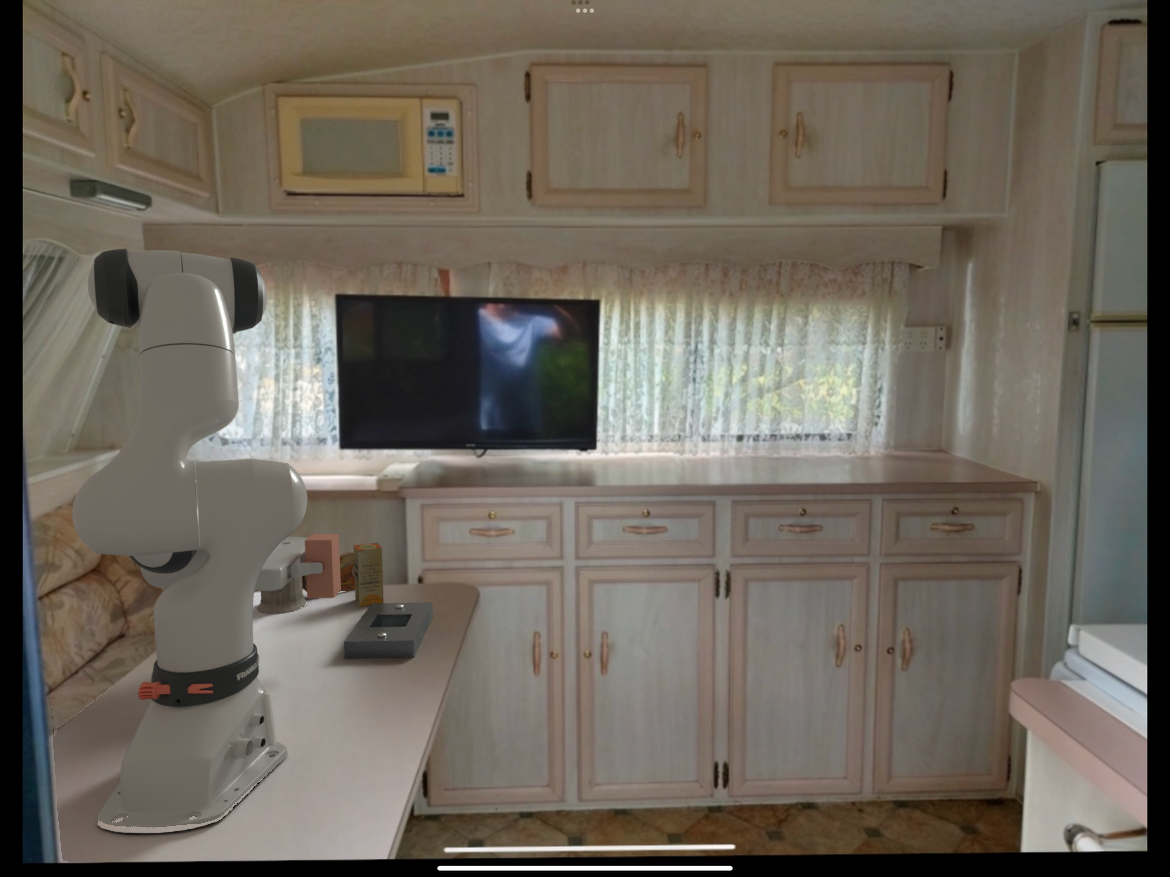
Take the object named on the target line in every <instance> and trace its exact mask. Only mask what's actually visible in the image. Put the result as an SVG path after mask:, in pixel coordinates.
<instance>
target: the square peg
mask: <svg viewBox="0 0 1170 877" xmlns="http://www.w3.org/2000/svg"><path fill="white" fill-rule="evenodd" d="M306 538H307V539H306V540H305V559H306V563H308V562H313V561H323V562H324V567H325V569H324V571H323V572H322V573H320V574H309V575H306V582H307V592H306V598H307V599H334V598H335V597H336V596H337V595H339V594H338V592H339V591H340V590H341V578H340V554H341V553H340V533H313V534H311V535H310V536H308V537H306Z"/></svg>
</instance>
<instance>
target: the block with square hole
mask: <svg viewBox="0 0 1170 877" xmlns="http://www.w3.org/2000/svg"><path fill="white" fill-rule="evenodd" d="M433 615H434V614H433V602H432V601H431V602H430V601H429V602H427V601H426V602H384V603H372V604H371V605H369V607H368V608H367V609H366V611H365V612H364V613H363V615H362V616H361V617H360V619H359V620H358V621H357V623H356V624H355V625H354V627H353V628H352V629H351V631H350V632H349V634H348V635H347V637H346V638H344V641H343V657H344V658H343V659H381V658H382V659H383V658H384V659H385V658H389V659H390V658H415V657H416V655H417V654H416V653H417V652H418V650H419V647H420V645H421V643H422V641H423V639H424V637H425V634H426V633H427V630H428V628H429V626H430V623H431V622H432V619H433V617H434V616H433Z"/></svg>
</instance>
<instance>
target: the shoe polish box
mask: <svg viewBox="0 0 1170 877" xmlns="http://www.w3.org/2000/svg"><path fill="white" fill-rule="evenodd" d="M382 552H383V549H382V546H381V545H380V544H379V543H378V542H370V543H363V544H354V545H353V553H354V574H355V590H354V593H355V601H357V602H356V604H357V605H358V606H359V608H361V607H362V606H363V607H368V606H370V605H371V604H372V603H385V602H384V579H383V578H384V574H383V553H382ZM363 607H362V608H363Z"/></svg>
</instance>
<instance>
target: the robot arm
mask: <svg viewBox="0 0 1170 877" xmlns="http://www.w3.org/2000/svg"><path fill="white" fill-rule="evenodd" d="M87 292H88V295H89V298H90V301H91V303H92V306H94V309H95V310H96V312H97V315H98V316H99V317H100V318H101V319H103V320H104V321H105V322H107V323H109V324H112V325H115V326H118V327H122V328H123V327H124V328H129V329H132V327H133V326H134V327H139V329H138V363H139V368H138V369H139V390H138V392H139V393H138V395H139V398H138V410H137V416H136V419H135V424H134V427H133V429H132V432H131V433H130V436H129V437H128V440H127V441H126V442H125V444H124V446H123V447H122V448H121V449H120V451H119V452H117V454H116V456H114V457H113V458H112V459H111V461H109V463H106V465H105V466H104V467H103V466H102V468H101V469H99V470H98V471H97V472H94V473H93V474H92V475H91V476H89V477H88V478H87V479H86V480H85V481H84V483H83V484H82V485H81V486H80V488H79V489H78V491H77V493H76V494H75V498H74V500H73V503H72V504H73V505H72V510H71V511H72V512H71V517H72V523H73V527H74V531H75V532H76V534H77V536H78V538H79V539H80V540H81V542H82V543H83V544H84V545H85V546H86V547H87V548H89V549H90V550H91V551H92V552H94V553H95V554H97V555H98V554H99V555H111V556H112V555H113V556H129V558H130V559H131V560H132V562H133V563H134V564H136V565H137V566H138V567H139V568H140V572H141V574H142V576H143V579H144V580H145V581H146V582H147V583H148V584H149V585H151V586H153V587H155V588H159V589H164V591H162V593H160V595H159V596H158V597H157V599H156V601H155V604H154V607H153V623H154V639H155V651H156V652H155V653H156V654H155V655H156V660H155V661H154V663H153V668H152V673H151V674H150V681H143V682H141V683H140V685H139V688H138V689H137V692H138V693H137V695H138V699H139V700H143V701H144V700H150V702H149V704H148V706H147V708H146V710H145V713H144V714H143V715H142V718H141V720H140V722H139V724H138V727H137V728H136V731H135V733H134V735H133V737H132V740H131V742H130V744H129V746H128V749H127V750H126V752H125V754H124V757H123V759H122V761H121V766H120V773H119V774H120V777H119V783H118V784H117V786H116V787H115V788H114V790H113V791H112V793H111V794H110V796H109V798H108V799H107V800H106V802H105V803H104V804H103V807H102V808H101V810H100V811H99V813H98V815H97V817H96V821H97V820H99V821H100V822H101V821H102V822H103V823H105V824H108V825H109V824H110V825H114V826H126V827H131V826H132V827H133V826H134V827H135V826H136V827H137V826H138V827H148V828H149V827H153V828H154V827H167V826H176V825H187V824H201V823H205V822H208V821H212V820H215V819H217V818H219V817H221V816H222V815H224V813H225V812H226V811H227V810H229V808H231V807H232V805H233V804H235V802H237V801H238V800H239V799H240V798H241V796H243V795H244V794H245V793H246V792H247V791H248V790H250V788H251V787H252V786H254V785H255V784H256V783H258V782H259V781H260V780H261V779H263V777H265V776H266V775H267V774H268V773H269V772H270V771H271V770H273V769H274V768H275V767H276V766H277V765H278V764H279V763H280V764H281V763H282V762H284V760H285V759H286V758H287V757H288V749H287V748H288V747H287V746H286V745H284V744H283V743H281V742H279V741H277V734H276V727H275V720H274V719H275V718H274V713H273V711H274V710H273V705H272V697H271V694H270V693H269V691H267V690H266V689H265V688H264V687H263V684H261V682H260V680H259V678H258V676H259V673H260V666H259V664H260V656H259V653H258V648H257V645H256V644H255V643H254V623H253V620H254V615H253V614H254V598H255V597H254V596H255V591H256V592H257V591H260V592H261V591H274V590H279V589H282V588H283V587H284V586H285V585H286V584H287V583H288V582H290V581H291V580H292V579H293V578H294V577H300V576H304V575H309V574H320V573H322V572H323V571H324V569H325V567H324V562H323V561H313V562H308V563H306V559H305V540H306V539H307V538H308V537H304V536H302V537H301V536H291V535H292V534H293V533H294V532H295V531H296V530H297V529H298V528H299V526H300V525H301V523H302V521H303V520H304V517H305V516H306V515H305V514H306V512H307V507H308V491H307V488H306V487H307V486H305V482H304V480H303V478H302V477H301V475H300V474H299V473H298V471H297V470H296V469H295V468H294V467H293V466H292V465H290V464H289V463H288V462H282V461H281V462H280V461H274V460H266V459H265V460H264V459H256V458H245V459H244V458H242V459H227V460H211V461H210V460H209V461H208V460H207V461H191V460H189V459H187V455H188V454H189V451H190V450H191V448H192V447H193V446H194V445H195V444H196V443H198V442H200V441H202V440H203V439H206V438H208V437H210V436H212V435H214V434H216V433H218V432H220V431H222V430H223V429H224V428H226V427H227V426H228V425H230V424H231V423H232V422H233V420H235V417H236V415H237V414H238V411H239V406H240V405H239V404H240V403H239V400H240V399H239V390H238V389H239V388H238V387H239V386H238V375H237V360H236V348H235V339H234V334H236V333H238V332H243V331H247V330H251V329H254V328H255V327H256V326H257V325H258V324H259V323H260V322H262V319H263V316H264V313H265V311H266V308H267V304H268V290H267V285H266V283H265V281H264V278H263V277H262V273H261V271H260V269H259V268H258V267H257V266H256V264H255V263H253V262H250V261H249V260H245V259H240V258H235V257H231V256H230V258H223V257H219V256H215V255H208V254H200V253H194V252H193V253H192V252H191V253H190V252H181V250H168V249H167V250H166V249H163V250H162V249H161V250H159V249H157V250H156V249H153V250H152V249H150V250H149V249H148V250H147V249H146V250H145V249H144V250H143V249H142V250H140V249H139V250H128V249H127V248H118V249H109V250H104V251H102V252H101V253H99V254H98V255H97V256H96V257H95V258H94V260H93V264H92V266H91V267H90V270H89V274H88V278H87ZM280 764H279V765H280ZM279 765H278V766H279ZM278 766H277V767H278ZM277 767H276V768H277ZM276 768H275V769H276ZM275 769H274V770H275ZM274 770H273V771H274ZM266 777H267V776H266ZM266 777H265V778H266ZM263 780H264V779H263ZM127 816H128V818H127ZM192 816H195V817H197V818H196V819H193V820H189V818H190V817H192ZM121 817H122V818H124V819H123V820H122V822H121V821H120V822H117V823H116V822H115V823H114V821H115V820H116V819H118V818H121ZM112 821H113V823H112Z"/></svg>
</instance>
